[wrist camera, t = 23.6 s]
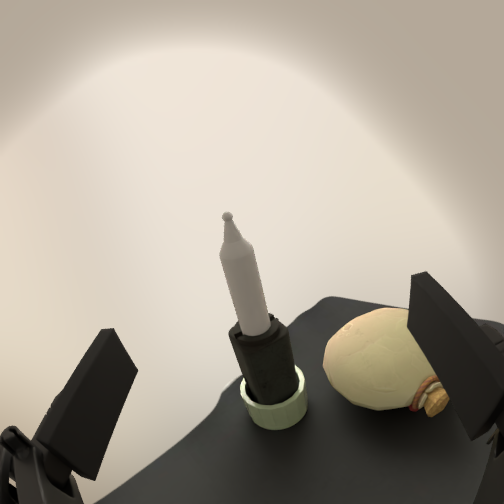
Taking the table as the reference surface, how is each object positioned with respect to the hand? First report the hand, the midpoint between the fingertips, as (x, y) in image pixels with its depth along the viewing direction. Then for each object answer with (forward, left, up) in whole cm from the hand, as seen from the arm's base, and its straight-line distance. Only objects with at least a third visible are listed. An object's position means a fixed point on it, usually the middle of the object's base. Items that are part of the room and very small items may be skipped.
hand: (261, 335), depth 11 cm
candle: (0, -13, -23) cm, 27 cm away
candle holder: (0, -13, -24) cm, 27 cm away
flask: (-14, -10, -24) cm, 29 cm away
